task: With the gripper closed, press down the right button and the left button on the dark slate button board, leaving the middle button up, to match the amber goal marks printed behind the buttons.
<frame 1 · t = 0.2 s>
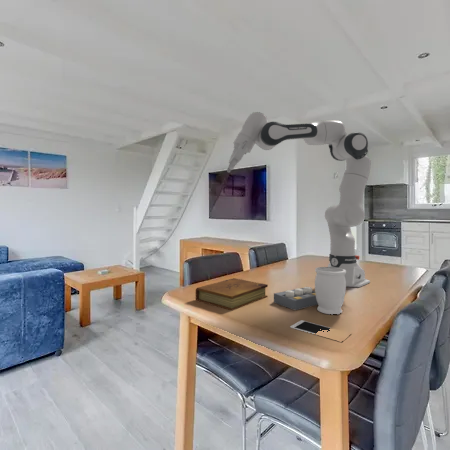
hand: (229, 170, 141), 54 cm above the table, tool tilted 30°, fingers open, 8 cm apart
button mid: (299, 293, 117), point 4 cm above the table, slide at 0.0 cm
button a: (289, 295, 115), point 4 cm above the table, slide at 0.0 cm
button b: (307, 291, 120), point 4 cm above the table, slide at 0.0 cm
diary: (232, 300, 123), on the table
board: (298, 302, 118), on the table
cell phone: (319, 332, 90), on the table
jar: (329, 311, 108), on the table
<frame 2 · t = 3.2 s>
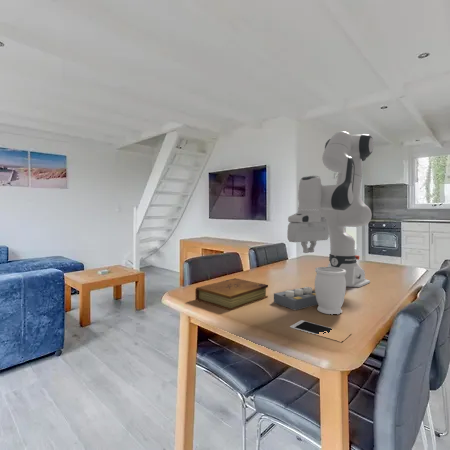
hand: (308, 252, 119), 19 cm above the table, tool pointing down, fingers closed
nothing on the table moved.
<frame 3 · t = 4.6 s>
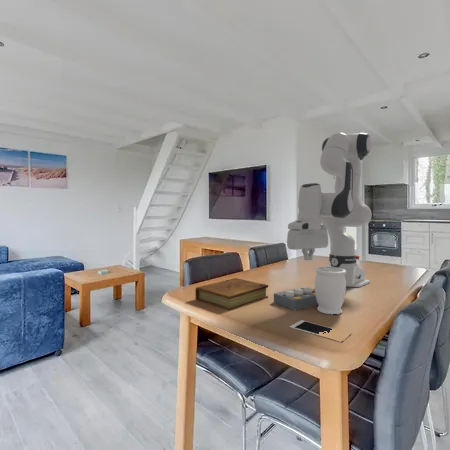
hand: (308, 259, 119), 16 cm above the table, tool pointing down, fingers closed
nothing on the table moved.
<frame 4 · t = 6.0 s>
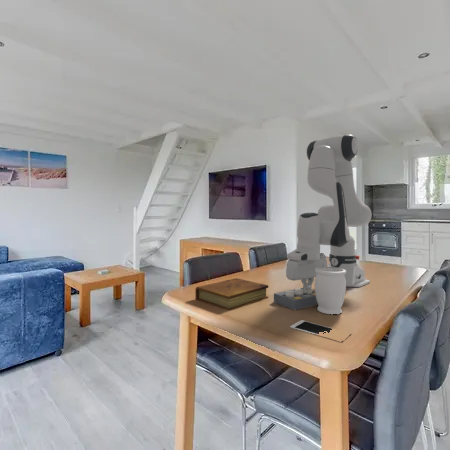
hand: (307, 289, 120), 5 cm above the table, tool pointing down, fingers closed, pressing on button b
button b: (307, 292, 120), point 3 cm above the table, slide at 0.5 cm, touching gripper
everything else where it was.
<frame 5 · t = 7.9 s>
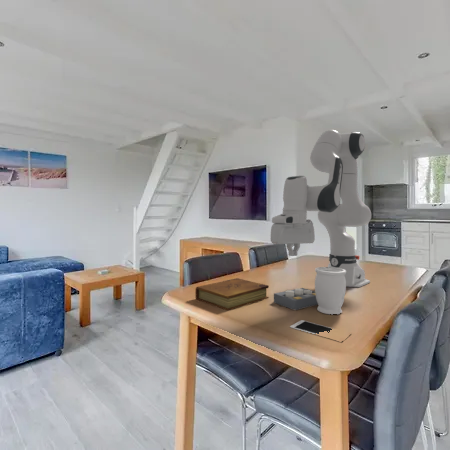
hand: (292, 255, 114), 19 cm above the table, tool pointing down, fingers closed
button b: (307, 294, 120), point 2 cm above the table, slide at 1.3 cm
everything else where it was.
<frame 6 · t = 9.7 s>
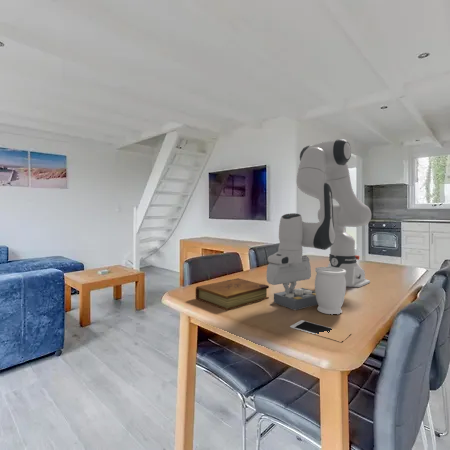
hand: (289, 293, 114), 4 cm above the table, tool pointing down, fingers closed, pressing on button a
button a: (289, 297, 115), point 3 cm above the table, slide at 0.8 cm, touching gripper
everything else where it was.
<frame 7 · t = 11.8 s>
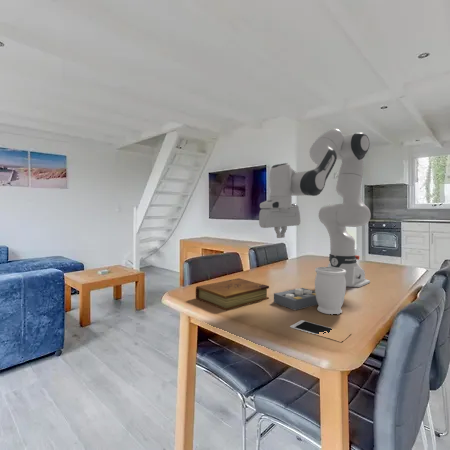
hand: (280, 237, 124), 24 cm above the table, tool pointing down, fingers closed
button a: (289, 298, 115), point 2 cm above the table, slide at 1.3 cm
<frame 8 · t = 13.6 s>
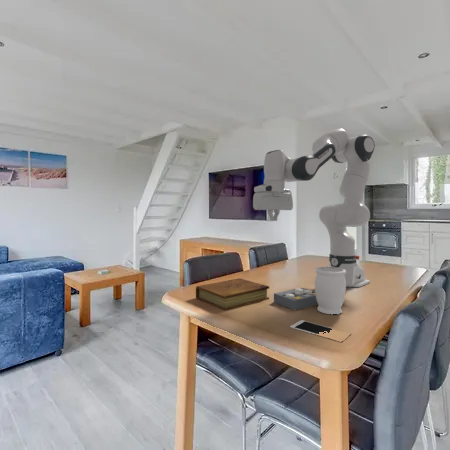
hand: (273, 220, 131), 31 cm above the table, tool pointing down, fingers closed
at the end: button b slide at 1.3 cm; button a slide at 1.3 cm; button mid slide at 0.0 cm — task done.
